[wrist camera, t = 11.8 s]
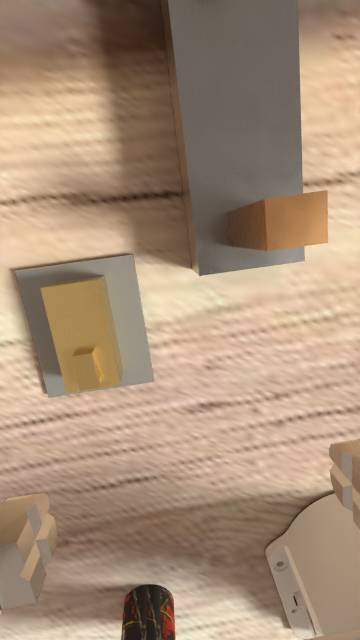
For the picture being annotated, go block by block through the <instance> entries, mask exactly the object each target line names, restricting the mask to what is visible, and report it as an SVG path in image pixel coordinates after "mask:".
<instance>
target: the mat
mask: <svg viewBox="0 0 360 640" xmlns="http://www.w3.org/2000/svg"><path fill="white" fill-rule="evenodd" d="M15 274H16V277H17V281H18V285H19V289H20V292H21V296H22V300H23V304H24V307H25V311H26V315H27V319H28V322H29V326H30V330H31V334H32V337H33V341H34V345H35V349H36V352H37V356H38V360H39V364H40V367H41V371H42V375H43V379H44V382H45V386H46V390H47V394H48V397H56V396H62V395H69V394H76V393H82V392H89V391H95V390H102V389H109V388H115V387H122V386H128V385H135V384H142V383H148V382H154V377H153V371H152V365H151V359H150V353H149V347H148V341H147V335H146V329H145V323H144V317H143V311H142V305H141V299H140V293H139V287H138V281H137V275H136V269H135V263H134V257H133V254H131V255H124V256H116V257H109V258H102V259H95V260H87V261H80V262H73V263H65V264H58V265H51V266H43V267H36V268H29V269H22V270H16V271H15ZM103 275H105V279H106V284H107V289H108V294H109V299H110V304H111V309H112V314H113V320H114V325H115V330H116V335H117V340H118V345H119V350H120V355H121V360H122V365H123V374H122V378H121V382H120V385H117V386H110V387H104V388H97V389H91V390H84V391H78V392H71V393H66V389H65V385H64V381H63V377H62V373H61V369H60V365H59V361H58V357H57V353H56V349H55V345H54V341H53V337H52V333H51V329H50V325H49V321H48V317H47V313H46V309H45V305H44V302H43V298H42V294H41V290H40V288H41V287H44V286H46V285H48V284H51V283H54V282H61V281H68V280H75V279H82V278H89V277H96V276H103Z"/></svg>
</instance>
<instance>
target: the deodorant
mask: <svg viewBox="0 0 360 640" xmlns="http://www.w3.org/2000/svg"><path fill="white" fill-rule="evenodd" d="M121 640H175V620H174V600H173V596H172V594H171V593H170V592H169V591H168V590H167V589H166V588H164V587H161V586H158V585H144V586H140V587H138V588H135V589H134V590H132V591H131V592H130V593H129V594H128V595H127V597H126V599H125V602H124V613H123V624H122V636H121Z"/></svg>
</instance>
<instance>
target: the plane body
mask: <svg viewBox="0 0 360 640" xmlns="http://www.w3.org/2000/svg"><path fill="white" fill-rule="evenodd" d="M160 4H161V13H162V21H163V29H164V38H165V46H166V54H167V63H168V71H169V79H170V88H171V96H172V104H173V113H174V121H175V129H176V138H177V146H178V155H179V163H180V171H181V180H182V188H183V196H184V205H185V213H186V221H187V230H188V238H189V246H190V255H191V263H192V269H193V270H194V271H195V272H196V273H197V274H198V275H199V276H201V275H208V274H215V273H223V272H230V271H237V270H244V269H251V268H258V267H265V266H272V265H280V264H287V263H294V262H301V261H305V257H304V246H308V245H315V244H322V243H328V205H327V191H319V192H312V193H304V194H303V182H302V144H301V106H300V69H299V31H298V0H160Z"/></svg>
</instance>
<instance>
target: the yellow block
mask: <svg viewBox="0 0 360 640" xmlns="http://www.w3.org/2000/svg"><path fill="white" fill-rule="evenodd" d="M40 290H41V294H42V298H43V302H44V305H45V309H46V313H47V317H48V321H49V325H50V329H51V333H52V337H53V341H54V345H55V349H56V353H57V357H58V361H59V365H60V369H61V373H62V377H63V381H64V385H65V389H66V393H71V392H78V391H84V390H91V389H97V388H104V387H110V386H117V385H120V382H121V378H122V374H123V365H122V360H121V355H120V350H119V345H118V340H117V335H116V330H115V325H114V320H113V314H112V309H111V304H110V299H109V294H108V289H107V284H106V279H105V275H103V276H96V277H89V278H82V279H75V280H68V281H61V282H54V283H51V284H48V285H46V286H44V287H41V288H40Z"/></svg>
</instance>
